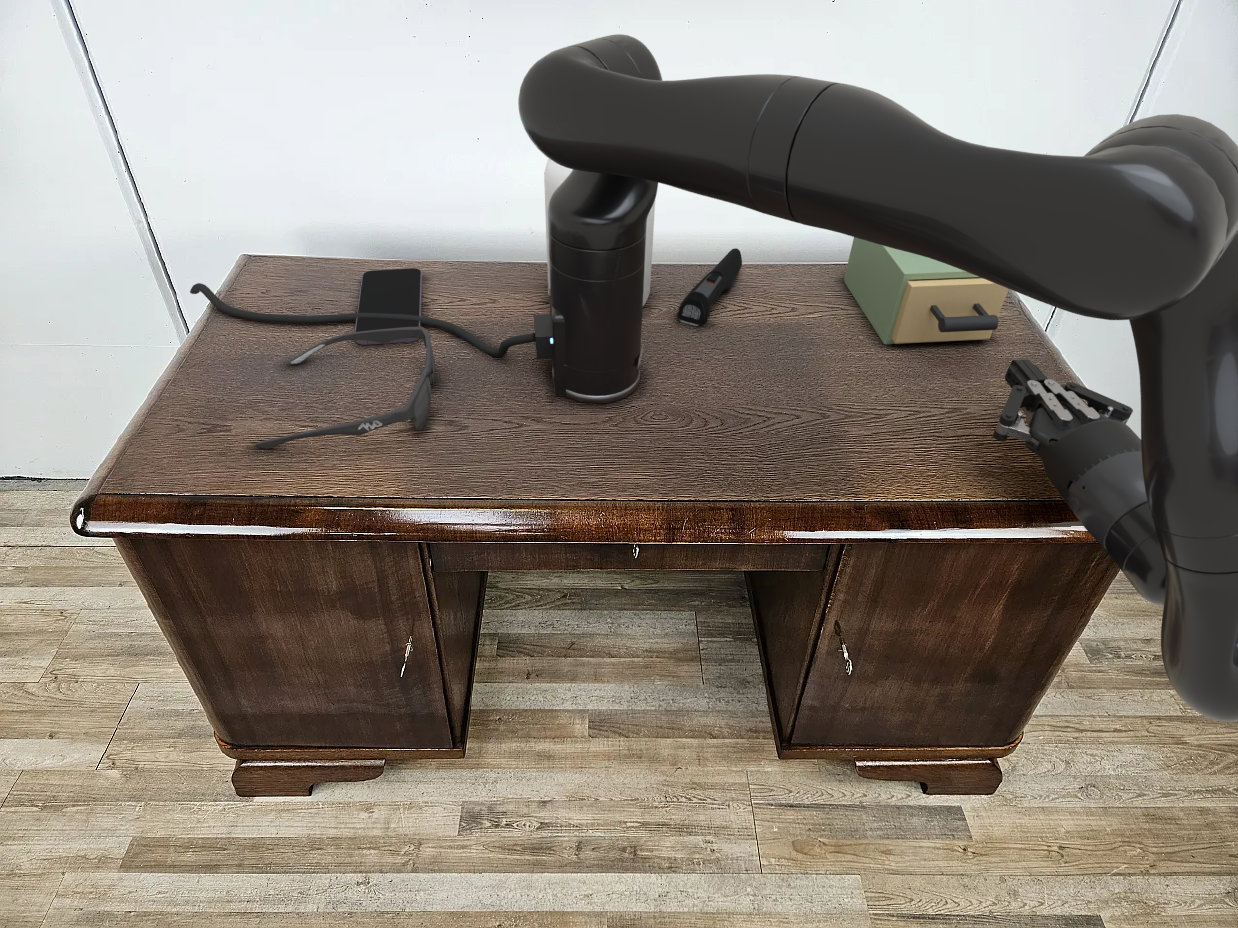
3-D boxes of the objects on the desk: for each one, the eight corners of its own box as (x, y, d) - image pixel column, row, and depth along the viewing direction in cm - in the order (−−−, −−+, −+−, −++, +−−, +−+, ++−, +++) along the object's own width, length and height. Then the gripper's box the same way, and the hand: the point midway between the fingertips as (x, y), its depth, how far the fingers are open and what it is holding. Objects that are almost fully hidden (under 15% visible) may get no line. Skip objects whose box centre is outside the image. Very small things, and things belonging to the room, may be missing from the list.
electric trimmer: (748, 273, 107) (751, 250, 105) (703, 328, 96) (706, 304, 94) (721, 266, 108) (723, 243, 106) (674, 320, 97) (676, 296, 95)
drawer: (1007, 360, 91) (1030, 303, 86) (909, 365, 90) (927, 307, 85) (941, 280, 104) (959, 226, 99) (855, 283, 103) (868, 229, 98)
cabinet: (987, 339, 96) (1014, 269, 90) (884, 344, 94) (904, 273, 88) (936, 277, 107) (957, 211, 100) (843, 281, 105) (859, 214, 99)
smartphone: (352, 340, 91) (362, 270, 102) (354, 348, 92) (363, 278, 103) (419, 336, 92) (422, 267, 103) (421, 344, 93) (423, 275, 104)
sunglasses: (433, 451, 79) (419, 410, 75) (260, 471, 79) (239, 431, 75) (447, 353, 91) (437, 314, 87) (298, 370, 91) (281, 332, 88)
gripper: (1213, 448, 65) (1094, 330, 78) (1058, 459, 64) (963, 337, 77) (1169, 514, 70) (1064, 393, 83) (1025, 525, 69) (940, 401, 82)
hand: (1015, 367), depth 80 cm, fingers closed
